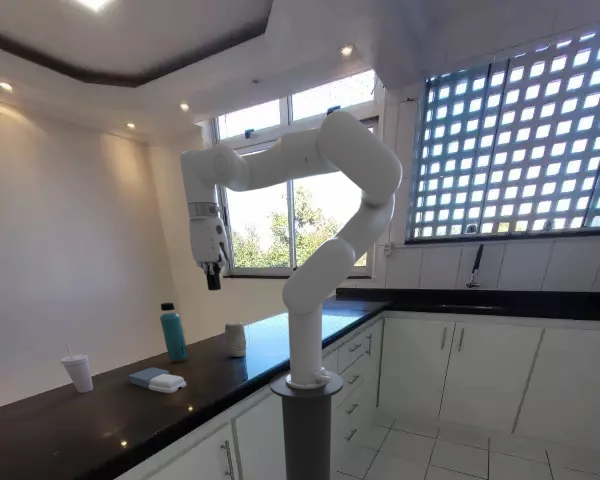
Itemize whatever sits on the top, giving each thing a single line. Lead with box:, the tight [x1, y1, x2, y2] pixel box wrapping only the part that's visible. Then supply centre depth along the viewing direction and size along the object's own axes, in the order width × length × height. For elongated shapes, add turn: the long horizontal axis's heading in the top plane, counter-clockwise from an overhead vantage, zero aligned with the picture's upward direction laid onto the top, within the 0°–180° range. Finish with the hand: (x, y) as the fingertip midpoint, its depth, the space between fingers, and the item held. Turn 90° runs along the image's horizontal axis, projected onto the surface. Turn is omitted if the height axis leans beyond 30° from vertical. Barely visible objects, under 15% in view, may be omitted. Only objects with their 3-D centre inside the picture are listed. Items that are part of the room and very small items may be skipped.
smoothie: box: [59, 341, 94, 394], centre depth 86 cm, size 6×6×14 cm
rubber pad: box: [128, 366, 171, 389], centre depth 93 cm, size 8×8×2 cm
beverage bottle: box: [159, 302, 188, 361], centre depth 105 cm, size 6×7×20 cm
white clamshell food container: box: [148, 374, 187, 394], centre depth 88 cm, size 9×7×3 cm
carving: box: [224, 321, 247, 358], centre depth 111 cm, size 6×8×12 cm
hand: (214, 289), depth 86 cm, fingers closed
